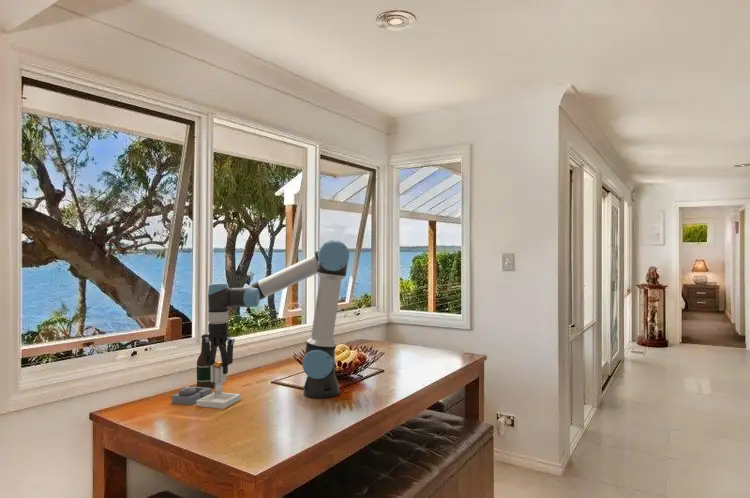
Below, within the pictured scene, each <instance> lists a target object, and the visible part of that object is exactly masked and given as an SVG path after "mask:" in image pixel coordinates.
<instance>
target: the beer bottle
mask: <svg viewBox="0 0 750 498" xmlns="http://www.w3.org/2000/svg"><path fill="white" fill-rule="evenodd" d="M208 335H209V333H207V334H206V333H205V334H202V335H201V336H200V338H201V347H200V348H201V350H200V355H199V356H198V357H197V360H196V387H205V388H212V389H215V387H214V382H211V373H209V364H207V363H205V362H204V344H203V341H202V339H203V338H206V337H208Z"/></svg>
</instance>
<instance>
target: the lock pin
mask: <svg viewBox="0 0 750 498" xmlns="http://www.w3.org/2000/svg"><path fill="white" fill-rule="evenodd" d="M221 365H222V360H219V361H217V360H216V361H215V362H213V366H214V392H215V394H216V395H218V394H222V393H224V392H223V387H224V386H223V383H221Z"/></svg>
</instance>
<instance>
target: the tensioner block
mask: <svg viewBox="0 0 750 498" xmlns="http://www.w3.org/2000/svg"><path fill="white" fill-rule="evenodd" d="M211 393H213V388H205V387H197V386H192V387H191V386H184V387H183V388H181V389H179V390H178V392H177V393H175V394H172V395H171V403H172V404H174V405H175V404H176V405H186V406H193V405H196V401H197V400H199V399H201V398H203V397H205V396H207V395H209V394H211Z"/></svg>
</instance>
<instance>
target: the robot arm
mask: <svg viewBox="0 0 750 498" xmlns="http://www.w3.org/2000/svg"><path fill="white" fill-rule="evenodd" d="M349 259H350V251H349V249H348V247H347V246H346V244H345V243H344V242H342V241H340V240H333V239H332V240H328V241H326V242H324V243H323V244H322V245H321V246H320V247H319V250H316V251H314V252H313V253H312V255H311V256H309V257H307V258H305V259H303V260H301V261H299V262H298V261H297V262H296V263H294V264H292V265H290V266H288V267H286V268H283V269H282V270H280V271H277V272H275V273H273V274H271V275H268V276H266V277H263V278H262V279H260V280H258V281H255V282H253V283H251V284H248V285H247V286H244V287H229V284H228V282H213V283H209V285H208V290H207V291H208V293H207V307H208V308H207V309H208V311H207V317H208V318H207V322H208V324H207V328H208V330H207V331H208V334H209V335H208V337H206V338H203V339H202V338H201V342H202V341H203V344H204V362H205V363H207V364H209V373H211V382H214V366H213V362H216V356H217V351H218V349H219V351H220V352H219V353H220V358H221V360H220V361H222V365H221V383H222V384H223V383H225V382H227V374H228V373H229V365H232V364H233V361H234V360H233V359H234V345H235V341H236V340H235V338H231V337H229V334H228V332H229V322H228V321H229V308H255V307H258V306H259V304H260V301H261V300H263V299H265V298H267V297H269V296H272V295H274V294H276V293H278V292H280V291H282V290H284V289H287V288H288V287H291V286H293V285H295V284H298V283H299V282H301V281H304V280H306V279H308V278H310V277H312V276H315V275H318V276H319V280H318V281H319V282H318V288H317V295H316V301H315V308H314V315H313V322H312V323H313V324H312V328H311V329H312V330H311V336H310V337H309V338H308V339H307V340H306V343H305V350H304V356H303V357H302V361H301V363H302V364H301V366H302V369H303V371H304V373H305V374H306V378H305V382H304V385H303V393H302V394H303V396H305V397H308V398H313V399H325V398H332V397H336V396H337V395H339V393H340V385H339V382H338V378H337V376H336V346H337V344H336V342H335V339H334V334H335V333H334V332H335V327H336V326H335V325H336V319H337V313H338V306H339V301H340V300H339V298H340V292H341V285H342V280H343V279H345V278H346V276H347V271H348V270H347V269H348V265H349V264H348V263H349Z"/></svg>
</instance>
